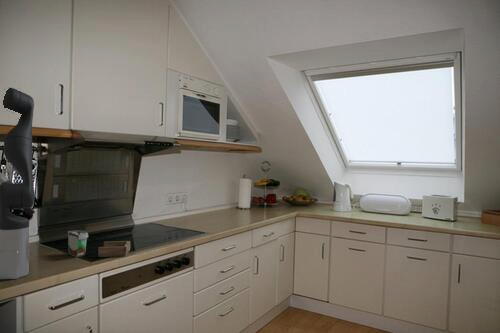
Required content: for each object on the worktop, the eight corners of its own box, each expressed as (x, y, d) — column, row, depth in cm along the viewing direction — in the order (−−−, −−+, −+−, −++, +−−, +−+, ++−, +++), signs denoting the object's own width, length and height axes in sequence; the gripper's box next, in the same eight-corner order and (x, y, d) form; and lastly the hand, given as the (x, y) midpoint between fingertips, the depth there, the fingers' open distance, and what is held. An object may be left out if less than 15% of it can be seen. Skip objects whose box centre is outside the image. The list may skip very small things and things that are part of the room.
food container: (93, 255, 154) (93, 233, 154) (78, 258, 149) (79, 234, 149) (81, 250, 162) (81, 229, 162) (67, 253, 157) (67, 231, 157)
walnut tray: (126, 256, 153) (126, 247, 153) (98, 257, 151) (98, 247, 151) (130, 249, 166) (130, 240, 166) (104, 250, 163) (104, 241, 163)
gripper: (0, 180, 141) (33, 210, 144) (15, 178, 154) (45, 205, 157) (-15, 193, 141) (19, 222, 143) (2, 190, 153) (32, 217, 156)
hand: (32, 213), depth 150 cm, fingers closed
